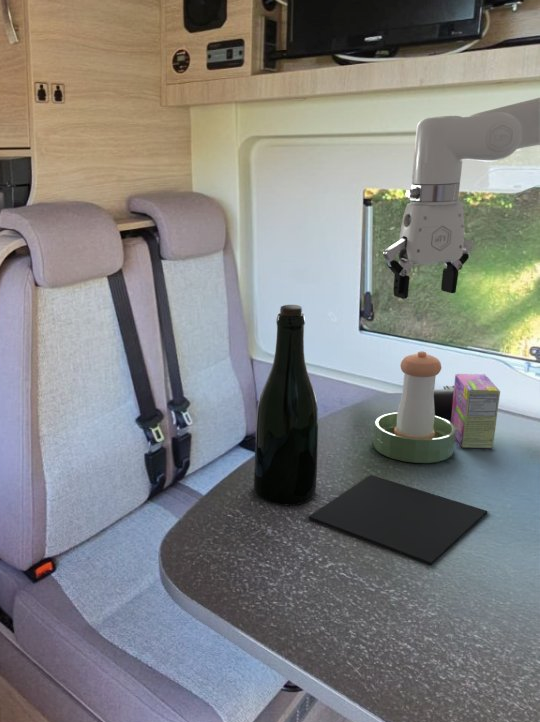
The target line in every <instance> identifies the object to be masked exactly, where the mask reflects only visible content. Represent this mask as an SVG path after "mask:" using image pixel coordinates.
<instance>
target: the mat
mask: <svg viewBox="0 0 540 722" xmlns="http://www.w3.org/2000/svg"><path fill="white" fill-rule="evenodd" d="M487 514H488V510H487V509H482V508H479V507H476V506H473V505H470V504H466V503H463V502H460V501H457V500H454V499H450V498H447V497H444V496H440V495H438V494H434V493H431V492H427V491H424V490H422V489H419V488H418V489H417V488H415V487H412V486H409V485H405V484H403V483H399V482H396V481H392V480H389V479H386V478H383V477H380V476H376V475H373V474H370V475H368V476H367V477H366V478H364V479H363V480H361V481H359V482H358V483H357V484H355V485H354V486H352V487H351V488H349V489H348V490H346V491H344V492H343V493H341V494H340V495H339V496H337V497H335V498H334V499H332V500H331V501H329V502H328V503H326V504H325V505H324V506H322V507H320V508H319V509H317V510H316V511H315V512H313V513H312V514H310V515H309V516H308V519H309V520H311V521H313V522H316V523H319V524H322V525H324V526H326V527H329V528H332V529H333V530H337V531H340V532H342V533H345V534H347V535H351V536H353V537H356V538H358V539H361V540H362V541H366V542H368V543H371V544H374V545H376V546H379V547H381V548H384V549H387V550H389V551H392V552H395V553H398V554H400V555H403V556H405V557H408V558H410V559H413V560H416V561H418V562H421V563H424V564H426V565H429V566H432V565H433V564H434V563H435V562H436V561H438V560H439V559H440V558H441V557H442V556H443V555H444V554H445V553H446V552H447V551H448V550H449V549H450V548H451V547H453V546H454V545H455V544H456V543H458V541H459V540H460V539H462V537H463V536H465V534H467V533H468V532H469V531H470V530H471V529H472V528H473V527H475V525H477V524H478V523H479V522H480V521H481V520H482V519H483V518H484V517H485V516H486V515H487Z"/></svg>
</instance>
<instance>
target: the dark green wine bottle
mask: <svg viewBox="0 0 540 722" xmlns="http://www.w3.org/2000/svg"><path fill="white" fill-rule="evenodd" d="M275 321H276V323H275V324H276V342H275V350H274V351H275V352H274V356H273V362H272V366H271V369H270V371H269V374H268V376H267V379H266V381H265V383H264V385H263V388H262V389H261V390H262V391H261V393H260V395H259V400H258V404H257V409H256V410H257V411H256V421H255V422H256V424H255V441H254V443H255V444H254V468H253V469H254V470H253V471H254V472H253V473H254V474H253V488H254V491H255V494H256V495H257V496H258V497H259V498H261V499H262V500H264V501H266V502H269V503H271V504H276V505H282V506H294V505H295V506H296V505H301V504H303V503H307V502H308V501H310V500H312V499H313V498H314V497H315V495H316V492H317V480H318V479H317V478H318V456H319V455H318V454H319V452H318V451H319V450H318V449H319V406H318V405H319V404H318V399H317V396H316V392H315V390H314V386H313V384H312V382H311V378H310V375H309V372H308V369H307V364H306V359H305V340H304V339H305V324H306V317H305V314H304V313H303V307H302V306H300V305H298V304H285V305H282V306H280V309H279V313H278V314H277V317H276V319H275Z"/></svg>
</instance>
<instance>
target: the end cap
mask: <svg viewBox="0 0 540 722" xmlns="http://www.w3.org/2000/svg"><path fill="white" fill-rule="evenodd" d="M453 394H454V385H444V386H443V389H434V409H435V416H438V417H440V418H443V419H446V420H448V421H451V415H452V405H453Z"/></svg>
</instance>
